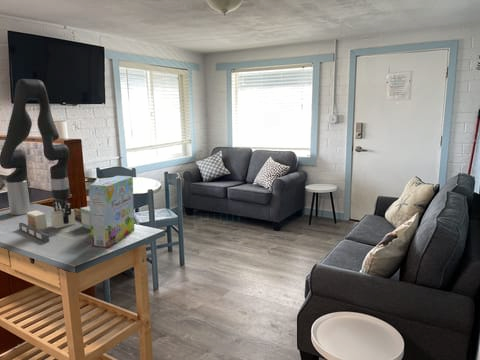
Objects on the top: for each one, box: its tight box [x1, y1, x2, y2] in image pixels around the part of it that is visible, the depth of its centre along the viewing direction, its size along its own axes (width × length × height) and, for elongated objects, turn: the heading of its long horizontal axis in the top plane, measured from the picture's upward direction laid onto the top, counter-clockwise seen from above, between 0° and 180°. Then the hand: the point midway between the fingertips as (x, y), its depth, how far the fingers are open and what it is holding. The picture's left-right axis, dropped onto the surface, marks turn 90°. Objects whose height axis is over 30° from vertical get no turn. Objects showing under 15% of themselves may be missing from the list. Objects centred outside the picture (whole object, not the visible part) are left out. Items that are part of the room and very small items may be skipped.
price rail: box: [18, 222, 50, 243], centre depth 158 cm, size 26×2×3 cm, turn 53°
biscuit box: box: [50, 208, 76, 229], centre depth 172 cm, size 5×9×7 cm, turn 143°
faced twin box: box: [26, 209, 48, 231], centre depth 169 cm, size 5×9×7 cm, turn 53°
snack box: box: [88, 175, 135, 248], centre depth 153 cm, size 22×9×26 cm, turn 168°
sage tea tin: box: [79, 205, 91, 231], centre depth 170 cm, size 8×5×9 cm, turn 53°
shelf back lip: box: [73, 208, 81, 219], centre depth 179 cm, size 26×1×4 cm, turn 53°
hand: (63, 222), depth 172 cm, fingers closed on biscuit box, 4 cm apart
